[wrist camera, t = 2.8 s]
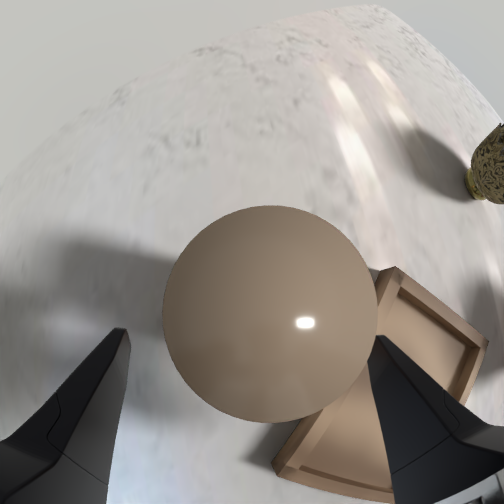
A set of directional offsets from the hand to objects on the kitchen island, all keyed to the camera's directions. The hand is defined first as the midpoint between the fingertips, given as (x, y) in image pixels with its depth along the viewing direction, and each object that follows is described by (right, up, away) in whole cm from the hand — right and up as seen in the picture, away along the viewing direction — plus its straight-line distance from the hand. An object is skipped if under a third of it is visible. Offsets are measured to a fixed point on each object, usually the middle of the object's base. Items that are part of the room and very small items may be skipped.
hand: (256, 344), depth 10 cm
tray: (+11, -8, +9) cm, 16 cm away
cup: (+23, +10, +15) cm, 29 cm away
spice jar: (-1, -1, +9) cm, 9 cm away
